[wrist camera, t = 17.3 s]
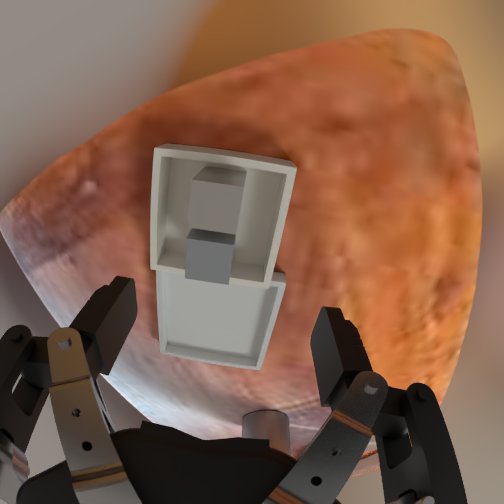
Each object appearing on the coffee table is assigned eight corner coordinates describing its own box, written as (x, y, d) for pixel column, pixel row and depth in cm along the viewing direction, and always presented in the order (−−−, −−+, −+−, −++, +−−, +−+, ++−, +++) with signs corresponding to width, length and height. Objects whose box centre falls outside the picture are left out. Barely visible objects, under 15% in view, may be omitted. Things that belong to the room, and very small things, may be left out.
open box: (268, 269, 32) (268, 289, 28) (161, 252, 31) (150, 269, 28) (292, 161, 26) (297, 168, 23) (167, 143, 25) (154, 147, 22)
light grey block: (246, 171, 26) (243, 187, 21) (240, 210, 28) (235, 234, 23) (205, 165, 26) (191, 179, 20) (201, 204, 28) (187, 227, 22)
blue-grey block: (238, 218, 28) (233, 245, 23) (234, 253, 30) (228, 284, 25) (200, 213, 28) (186, 238, 23) (197, 248, 30) (184, 278, 25)
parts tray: (260, 359, 39) (260, 370, 37) (163, 343, 38) (160, 353, 36) (285, 273, 32) (286, 282, 30) (161, 252, 31) (155, 261, 29)
